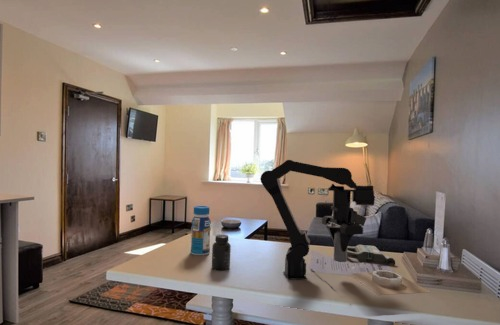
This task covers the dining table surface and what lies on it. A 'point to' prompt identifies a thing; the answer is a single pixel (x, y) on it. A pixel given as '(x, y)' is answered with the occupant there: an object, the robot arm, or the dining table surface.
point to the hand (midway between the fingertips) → (340, 249)
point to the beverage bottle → (200, 231)
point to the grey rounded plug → (339, 250)
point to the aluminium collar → (387, 278)
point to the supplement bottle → (221, 253)
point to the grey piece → (368, 255)
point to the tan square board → (382, 290)
